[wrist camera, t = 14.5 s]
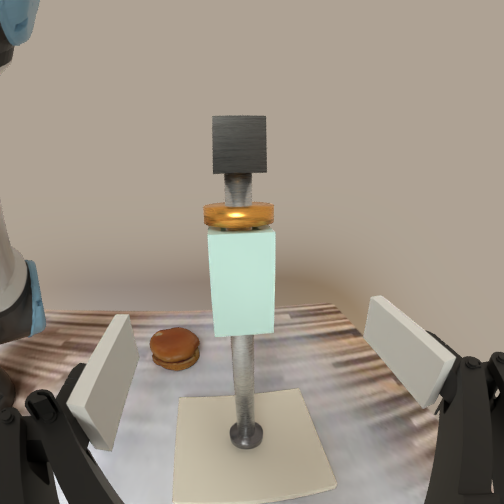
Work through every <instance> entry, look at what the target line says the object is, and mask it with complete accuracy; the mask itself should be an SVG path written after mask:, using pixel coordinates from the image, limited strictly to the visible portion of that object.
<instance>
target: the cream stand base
mask: <svg viewBox="0 0 504 504" xmlns="http://www.w3.org/2000/svg"><path fill="white" fill-rule="evenodd" d="M254 411H255V422H257V423H258V424H259V425H260V426H261V427H262V429H263V440H262V442H261V444H260V445H259V446H257V447H255V448H253V449H240V448H237V447H236V446H234V445H233V444H232V442H231V440H230V433H229V432H230V428H231V427H232V425H233V424H235V423H236V422H237V416H236V404H235V395H233V396H216V397H179V407H178V418H177V429H176V442H175V457H174V474H173V499H172V502H173V503H174V504H261V503H269V502H276V501H282V500H288V499H294V498H299V497H303V496H308V495H312V494H317V493H321V492H325V491H328V490H332V489H335V488H336V486H337V481H336V479H335V476H334V474H333V472H332V469H331V467H330V464H329V462H328V459H327V457H326V454H325V452H324V449H323V447H322V444H321V442H320V439H319V437H318V434H317V432H316V429H315V427H314V425H313V422H312V420H311V417H310V415H309V412H308V410H307V407H306V405H305V402H304V400H303V397H302V395H301V392H300V390H299V388H296V389H289V390H282V391H274V392H266V393H257V394H254Z"/></svg>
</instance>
